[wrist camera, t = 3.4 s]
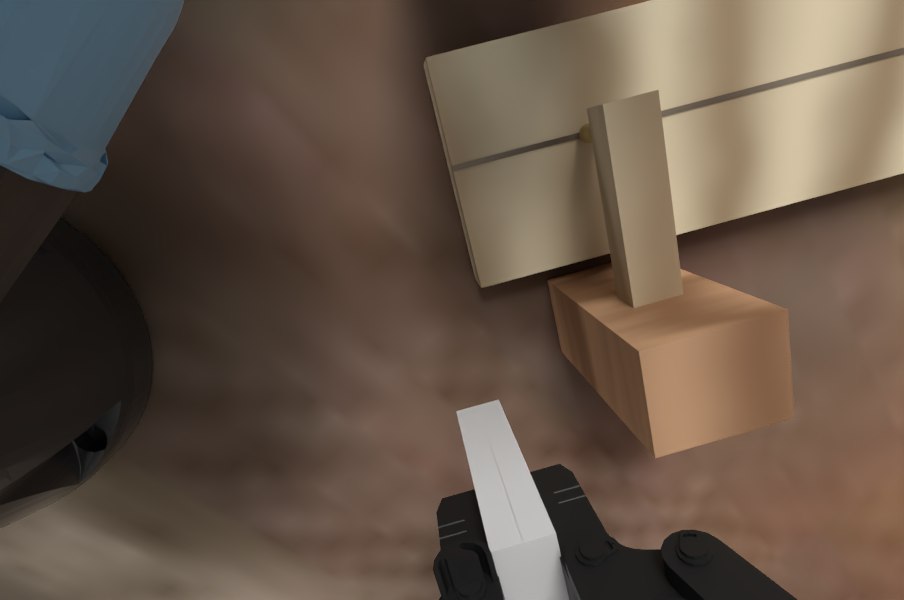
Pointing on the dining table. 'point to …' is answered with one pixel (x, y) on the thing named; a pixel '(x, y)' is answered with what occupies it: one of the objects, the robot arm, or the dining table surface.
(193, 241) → the dining table surface
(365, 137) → the dining table surface
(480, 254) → the board
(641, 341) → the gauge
